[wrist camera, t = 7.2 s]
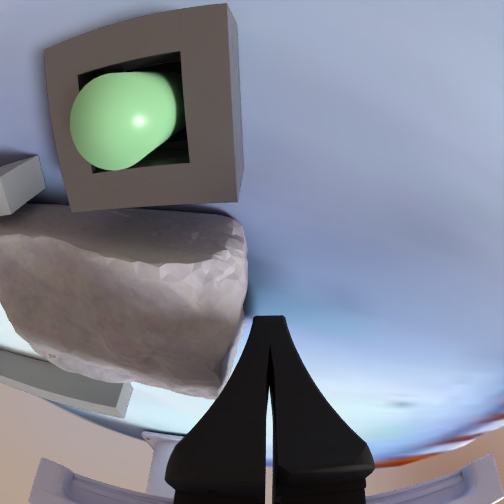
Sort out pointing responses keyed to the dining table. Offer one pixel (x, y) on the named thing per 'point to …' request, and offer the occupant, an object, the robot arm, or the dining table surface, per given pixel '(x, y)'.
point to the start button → (126, 116)
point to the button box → (195, 102)
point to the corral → (36, 371)
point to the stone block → (127, 293)
